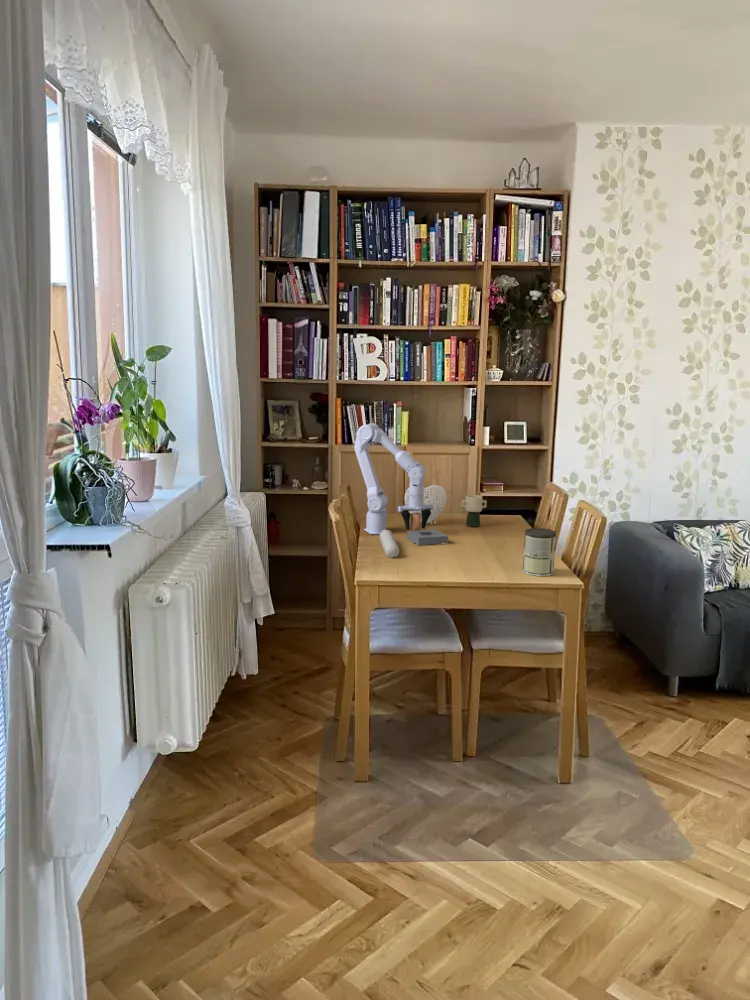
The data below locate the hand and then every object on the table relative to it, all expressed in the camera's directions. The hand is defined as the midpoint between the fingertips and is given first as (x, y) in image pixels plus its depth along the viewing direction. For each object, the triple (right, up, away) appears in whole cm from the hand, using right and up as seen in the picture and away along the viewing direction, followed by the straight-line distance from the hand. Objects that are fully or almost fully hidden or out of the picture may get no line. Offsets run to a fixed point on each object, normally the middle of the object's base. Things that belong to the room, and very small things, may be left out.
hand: (415, 528), depth 307 cm
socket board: (+4, -5, -8) cm, 10 cm away
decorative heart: (+5, +1, +22) cm, 23 cm away
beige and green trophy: (+26, 0, +21) cm, 33 cm away
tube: (-11, -8, -24) cm, 27 cm away
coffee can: (+39, -13, -50) cm, 64 cm away
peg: (0, -3, +1) cm, 3 cm away
